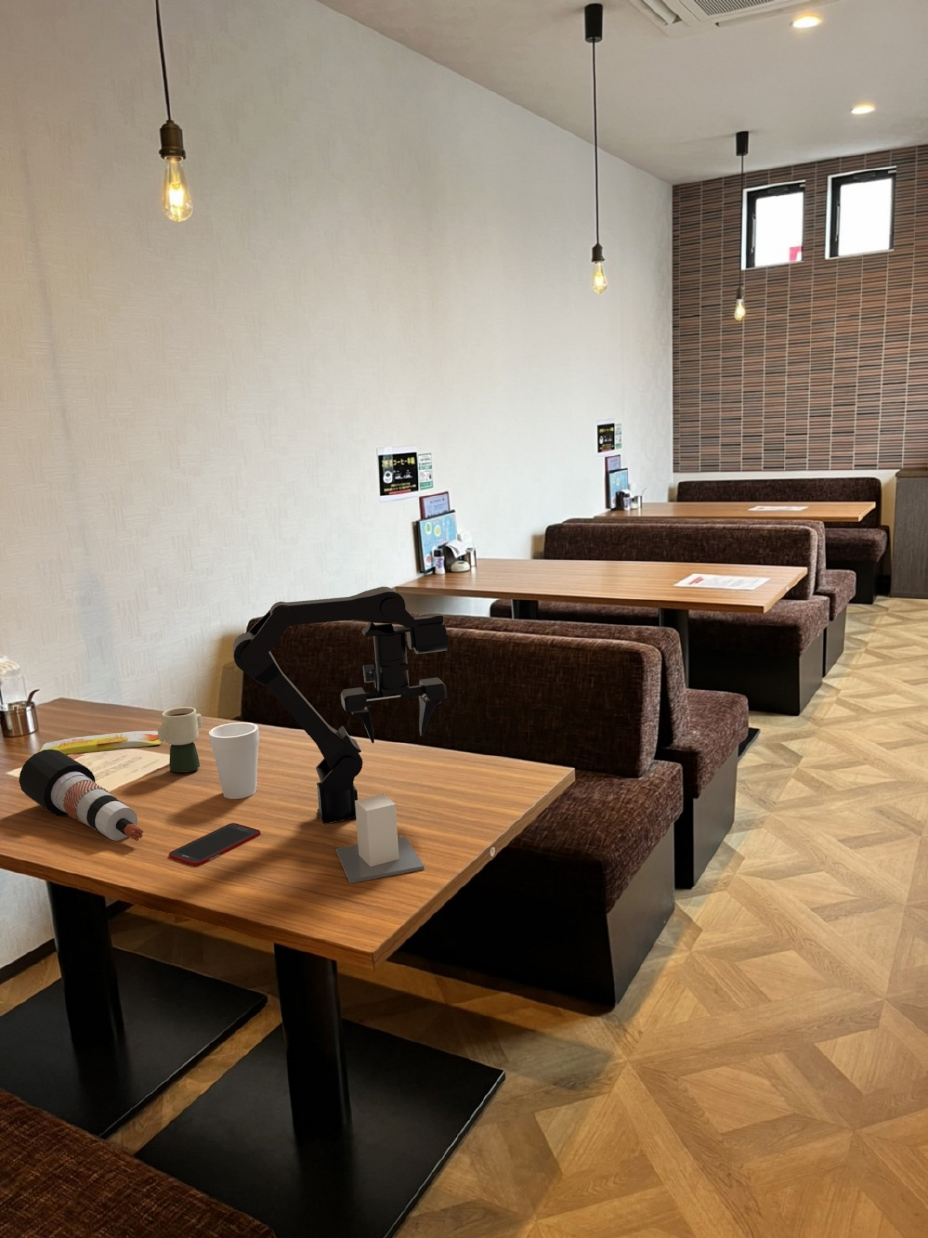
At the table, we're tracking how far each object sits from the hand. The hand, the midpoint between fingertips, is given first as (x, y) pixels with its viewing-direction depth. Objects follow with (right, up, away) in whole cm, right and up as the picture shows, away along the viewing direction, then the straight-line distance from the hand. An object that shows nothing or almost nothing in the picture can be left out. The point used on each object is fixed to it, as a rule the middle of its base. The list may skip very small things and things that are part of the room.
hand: (397, 739), depth 172 cm
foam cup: (-32, -12, +13) cm, 37 cm away
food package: (-72, -8, +45) cm, 85 cm away
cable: (-57, -16, +1) cm, 59 cm away
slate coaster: (-2, -17, -19) cm, 26 cm away
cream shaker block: (-2, -17, -19) cm, 26 cm away
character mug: (-47, -10, +26) cm, 55 cm away
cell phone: (-31, -18, -11) cm, 37 cm away
